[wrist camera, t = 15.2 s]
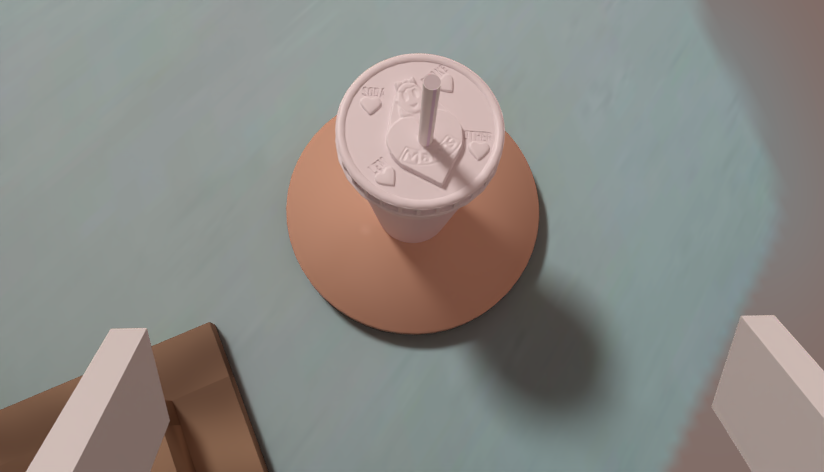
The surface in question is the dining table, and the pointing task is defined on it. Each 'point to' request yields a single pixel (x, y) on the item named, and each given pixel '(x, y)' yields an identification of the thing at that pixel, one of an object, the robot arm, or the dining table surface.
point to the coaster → (409, 246)
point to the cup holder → (186, 404)
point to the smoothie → (419, 141)
